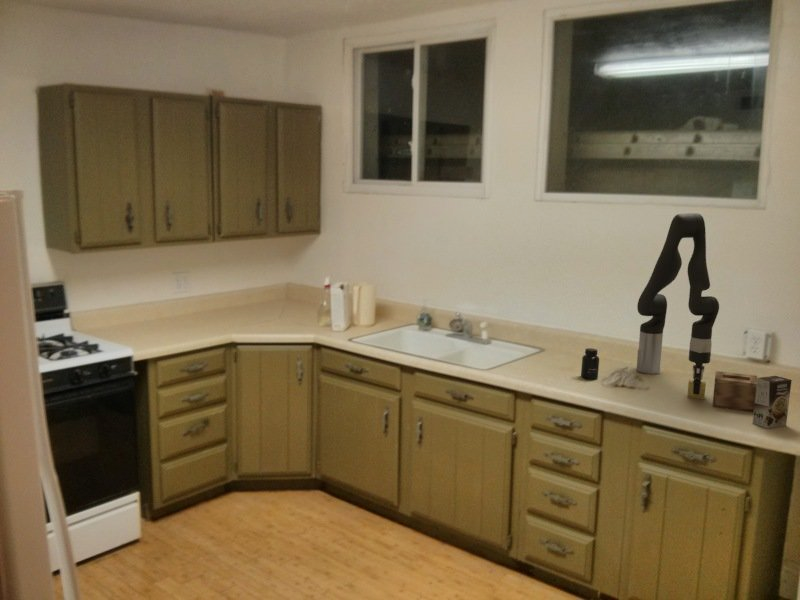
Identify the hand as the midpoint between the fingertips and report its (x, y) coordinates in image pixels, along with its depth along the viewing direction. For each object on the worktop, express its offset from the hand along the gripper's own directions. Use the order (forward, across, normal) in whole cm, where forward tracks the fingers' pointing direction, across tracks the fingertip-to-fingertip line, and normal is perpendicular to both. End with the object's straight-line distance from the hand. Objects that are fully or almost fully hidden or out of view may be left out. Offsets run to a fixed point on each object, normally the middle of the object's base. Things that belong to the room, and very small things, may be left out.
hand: (696, 391), depth 276 cm
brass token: (+2, 0, 0) cm, 2 cm away
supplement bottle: (+2, -8, -41) cm, 42 cm away
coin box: (+3, +4, +13) cm, 14 cm away
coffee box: (+3, +22, +24) cm, 32 cm away
